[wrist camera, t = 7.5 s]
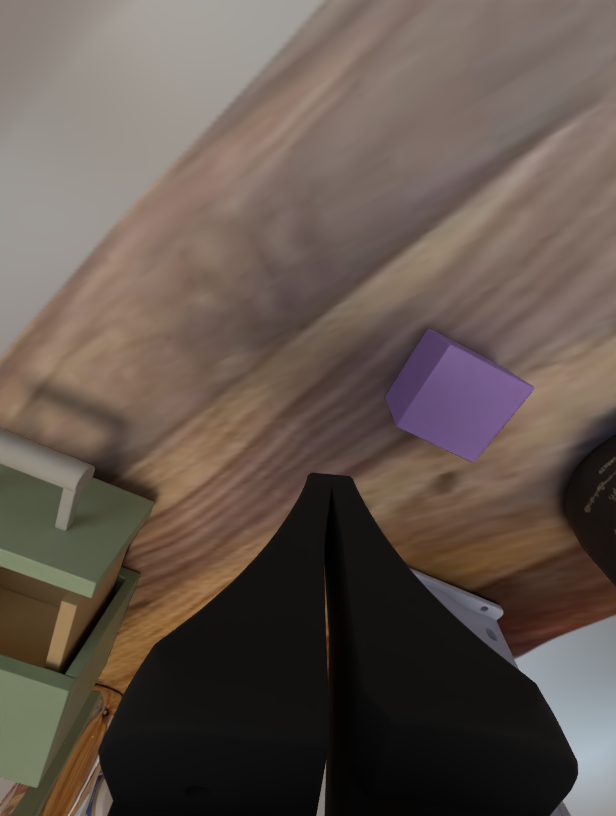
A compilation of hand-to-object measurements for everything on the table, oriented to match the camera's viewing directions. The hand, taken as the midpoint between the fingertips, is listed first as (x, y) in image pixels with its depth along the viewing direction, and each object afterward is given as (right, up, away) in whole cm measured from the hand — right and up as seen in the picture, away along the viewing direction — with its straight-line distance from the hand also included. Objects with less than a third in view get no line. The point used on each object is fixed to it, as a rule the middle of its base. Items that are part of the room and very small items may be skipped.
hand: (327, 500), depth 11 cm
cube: (+6, +4, +7) cm, 11 cm away
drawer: (-17, -4, +11) cm, 21 cm away
